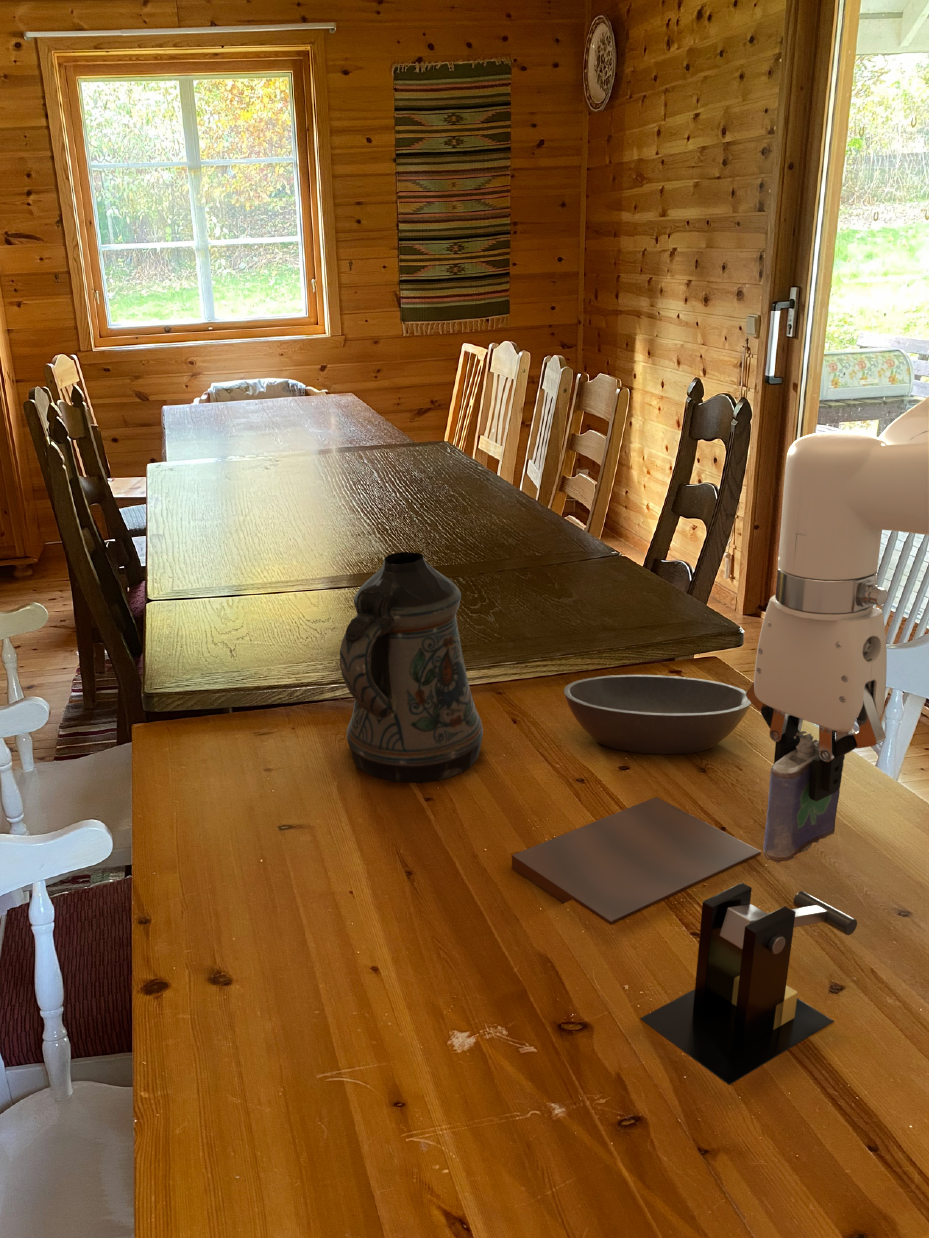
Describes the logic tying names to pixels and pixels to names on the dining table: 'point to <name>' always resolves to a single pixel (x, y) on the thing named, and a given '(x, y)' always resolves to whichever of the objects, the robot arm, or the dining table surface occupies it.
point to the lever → (806, 914)
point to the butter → (787, 1007)
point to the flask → (796, 805)
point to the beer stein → (409, 676)
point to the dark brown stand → (707, 1014)
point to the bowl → (656, 712)
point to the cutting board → (631, 859)
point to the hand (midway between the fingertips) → (805, 785)
